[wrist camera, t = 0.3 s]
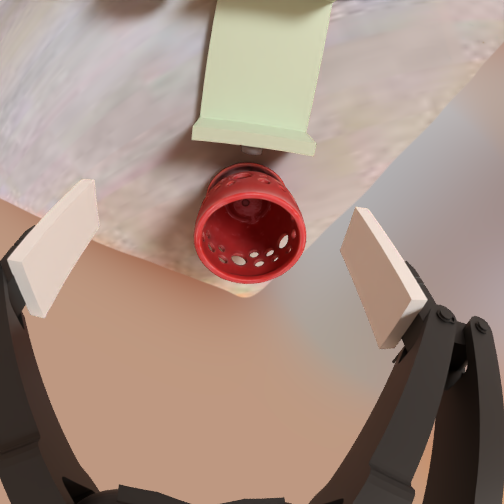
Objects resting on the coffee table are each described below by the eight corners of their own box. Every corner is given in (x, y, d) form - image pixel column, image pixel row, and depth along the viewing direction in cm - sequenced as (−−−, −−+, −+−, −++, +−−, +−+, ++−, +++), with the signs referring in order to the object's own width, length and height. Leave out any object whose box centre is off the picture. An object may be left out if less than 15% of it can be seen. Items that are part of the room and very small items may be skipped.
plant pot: (187, 210, 44) (173, 257, 35) (235, 138, 38) (233, 167, 29) (258, 249, 49) (262, 301, 39) (309, 188, 43) (330, 230, 33)
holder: (224, -32, 24) (221, -50, 18) (332, -13, 25) (350, -26, 19) (198, 135, 38) (190, 149, 32) (300, 149, 39) (311, 166, 34)
